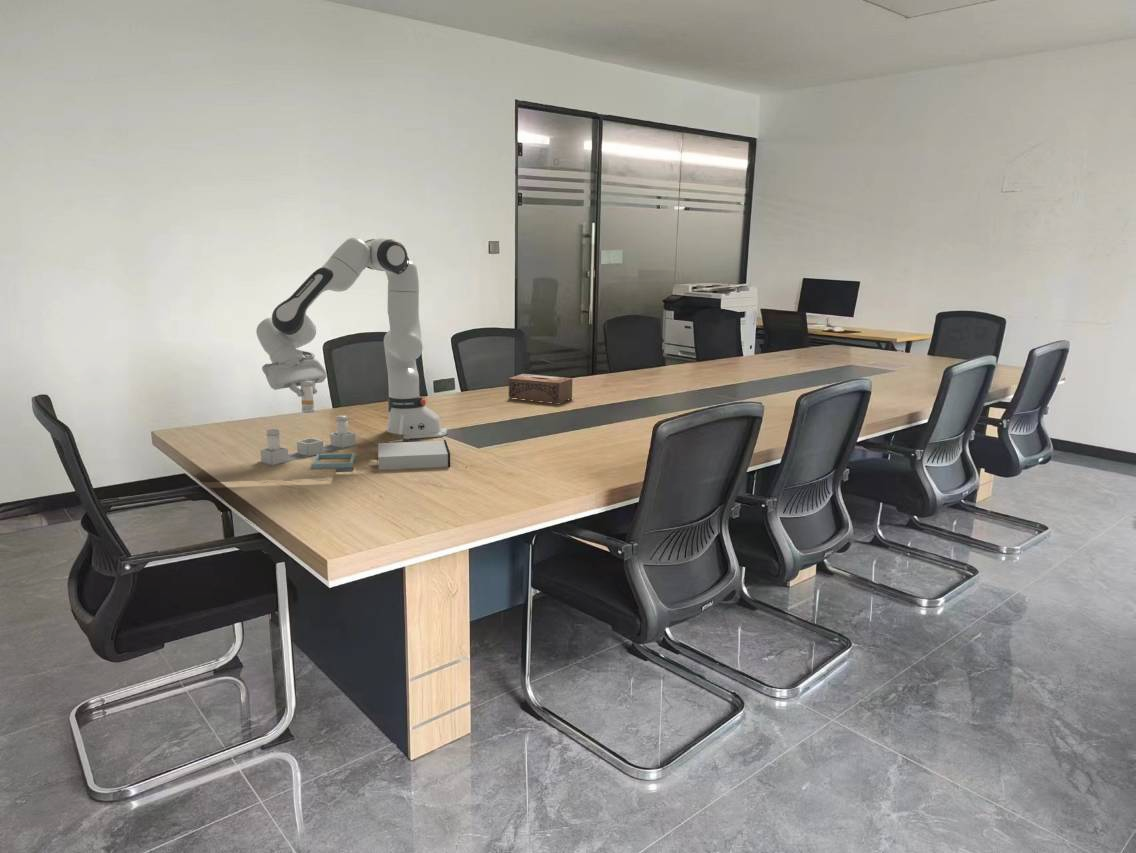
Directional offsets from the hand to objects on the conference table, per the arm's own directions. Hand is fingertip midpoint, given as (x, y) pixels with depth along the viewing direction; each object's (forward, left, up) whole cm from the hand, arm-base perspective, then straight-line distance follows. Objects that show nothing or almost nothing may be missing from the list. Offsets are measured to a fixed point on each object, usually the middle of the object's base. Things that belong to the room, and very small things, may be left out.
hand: (308, 394), depth 253 cm
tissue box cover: (-90, -93, -22) cm, 131 cm away
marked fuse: (0, 0, -6) cm, 6 cm away
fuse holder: (0, 0, -21) cm, 21 cm away
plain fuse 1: (+10, +9, -20) cm, 24 cm away
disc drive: (-33, +8, -22) cm, 41 cm away
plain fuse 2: (-9, -10, -20) cm, 24 cm away
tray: (-9, +13, -21) cm, 26 cm away
